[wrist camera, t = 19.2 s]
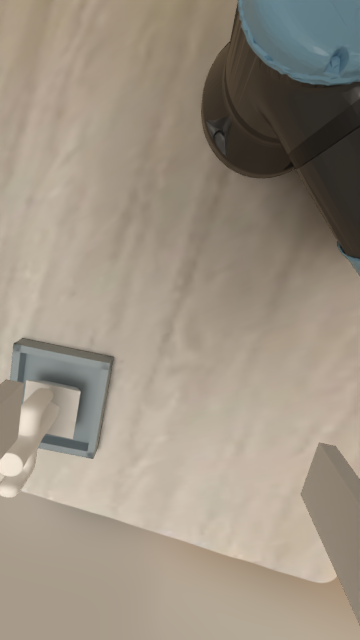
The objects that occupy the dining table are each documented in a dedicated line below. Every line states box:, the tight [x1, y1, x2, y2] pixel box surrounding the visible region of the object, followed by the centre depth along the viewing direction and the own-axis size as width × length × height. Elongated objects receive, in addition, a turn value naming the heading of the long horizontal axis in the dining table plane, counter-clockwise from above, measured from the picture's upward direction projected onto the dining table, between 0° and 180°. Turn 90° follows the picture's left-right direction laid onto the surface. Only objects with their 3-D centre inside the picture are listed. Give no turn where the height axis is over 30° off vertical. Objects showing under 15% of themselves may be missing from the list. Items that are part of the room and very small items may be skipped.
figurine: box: [0, 380, 81, 498], centre depth 41 cm, size 7×9×15 cm
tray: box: [10, 338, 114, 459], centre depth 48 cm, size 15×13×2 cm
